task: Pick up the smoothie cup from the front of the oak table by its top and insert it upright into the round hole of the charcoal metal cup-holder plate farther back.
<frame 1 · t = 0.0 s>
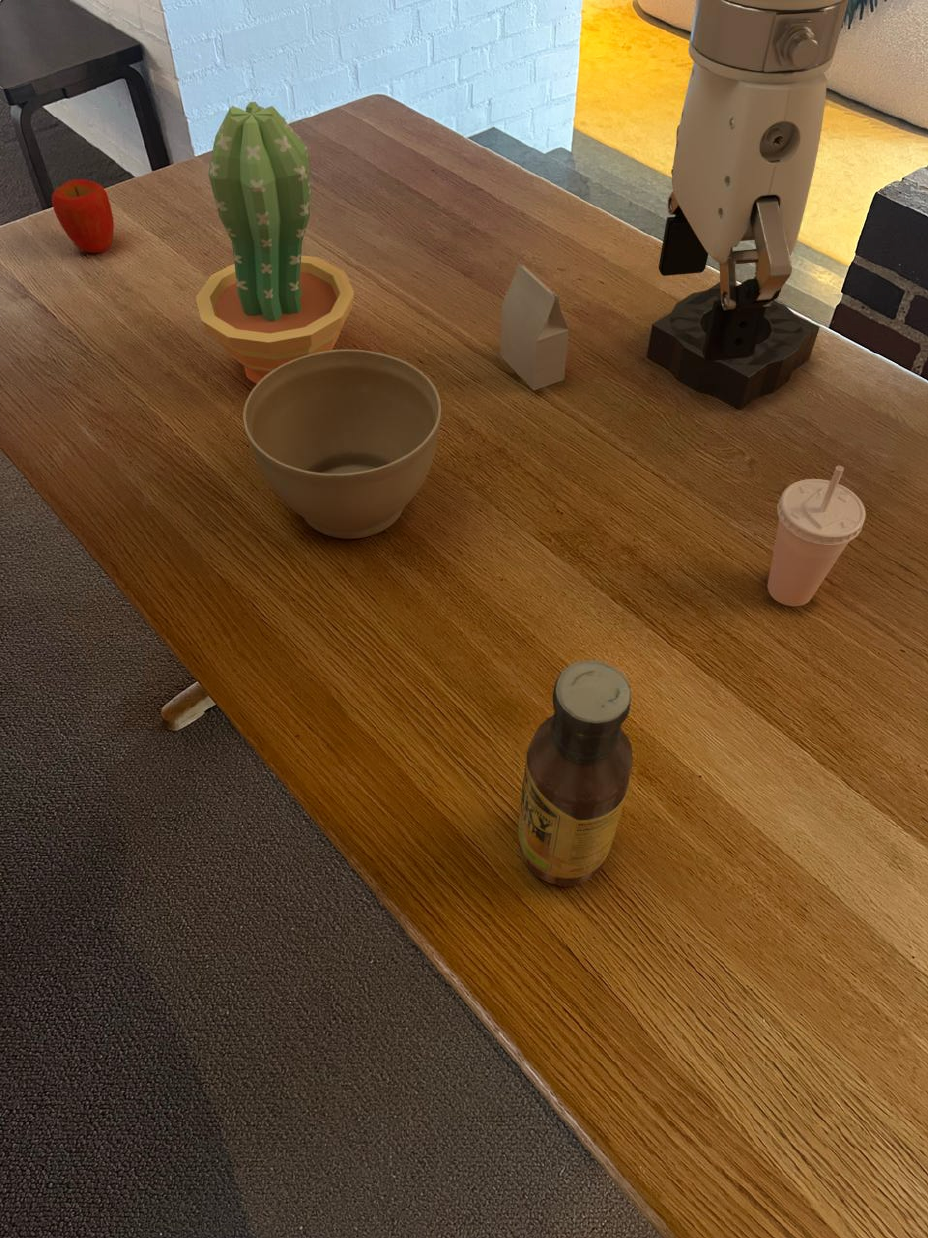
hand: (702, 312, 63), 24 cm above the table, tool pointing down, fingers open, 9 cm apart
planter bowl: (354, 504, 87), on the table
apple: (95, 248, 114), on the table
holder plate: (727, 358, 100), on the table
potted cactus: (287, 364, 100), on the table
gable top carton: (531, 368, 99), on the table
sauce bottle: (562, 851, 66), on the table
smoothie: (789, 590, 80), on the table
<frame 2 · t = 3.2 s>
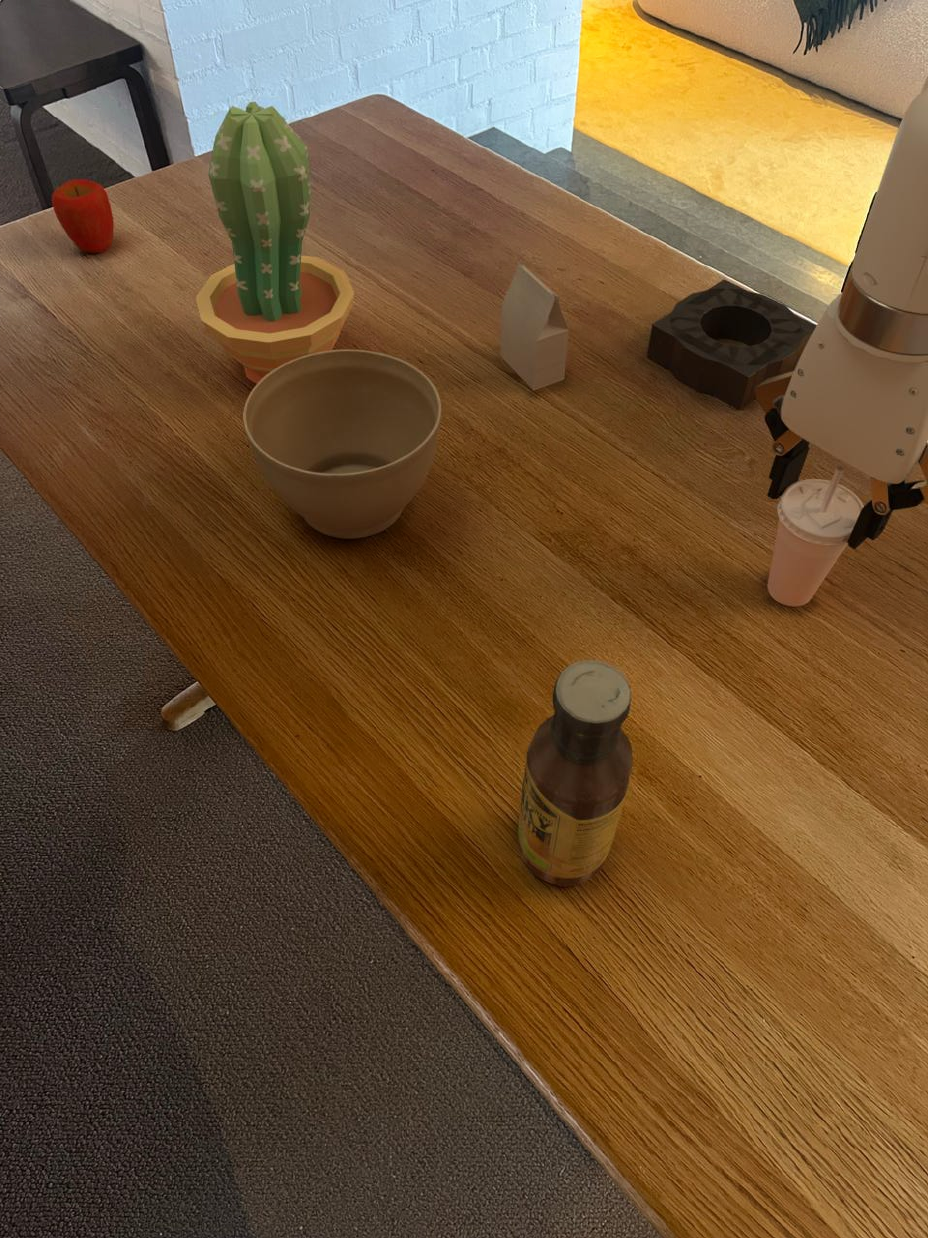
hand: (821, 512, 73), 9 cm above the table, tool pointing down, fingers closed on smoothie, 6 cm apart
smoothie: (789, 590, 80), on the table, touching gripper
everything else where it was.
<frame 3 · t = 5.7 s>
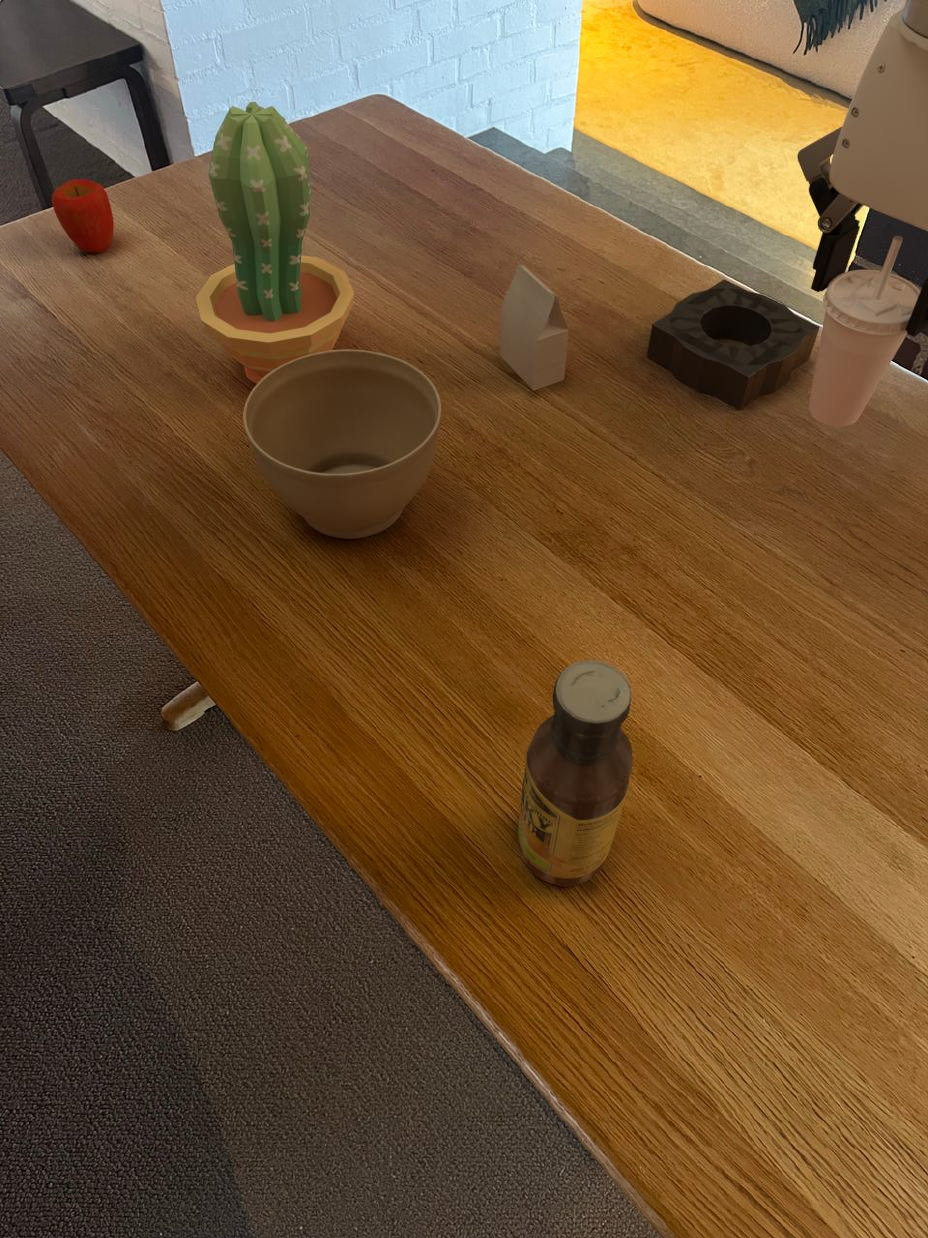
hand: (873, 302, 64), 24 cm above the table, tool pointing down, fingers closed on smoothie, 6 cm apart
smoothie: (833, 412, 71), point 15 cm above the table, touching gripper
everything else where it was.
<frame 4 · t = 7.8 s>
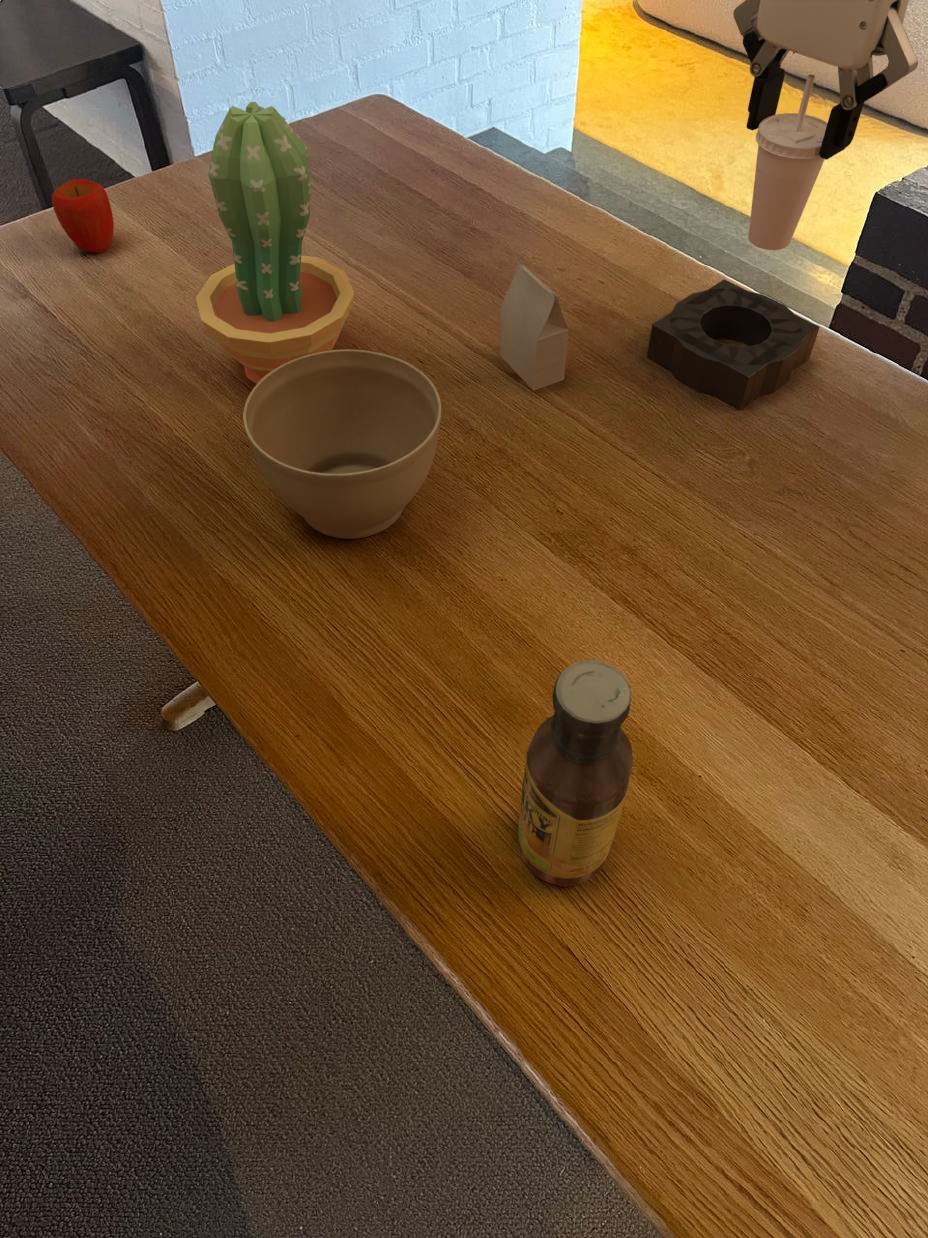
hand: (795, 136, 80), 24 cm above the table, tool pointing down, fingers closed on smoothie, 6 cm apart
smoothie: (768, 241, 87), point 15 cm above the table, touching gripper
everything else where it was.
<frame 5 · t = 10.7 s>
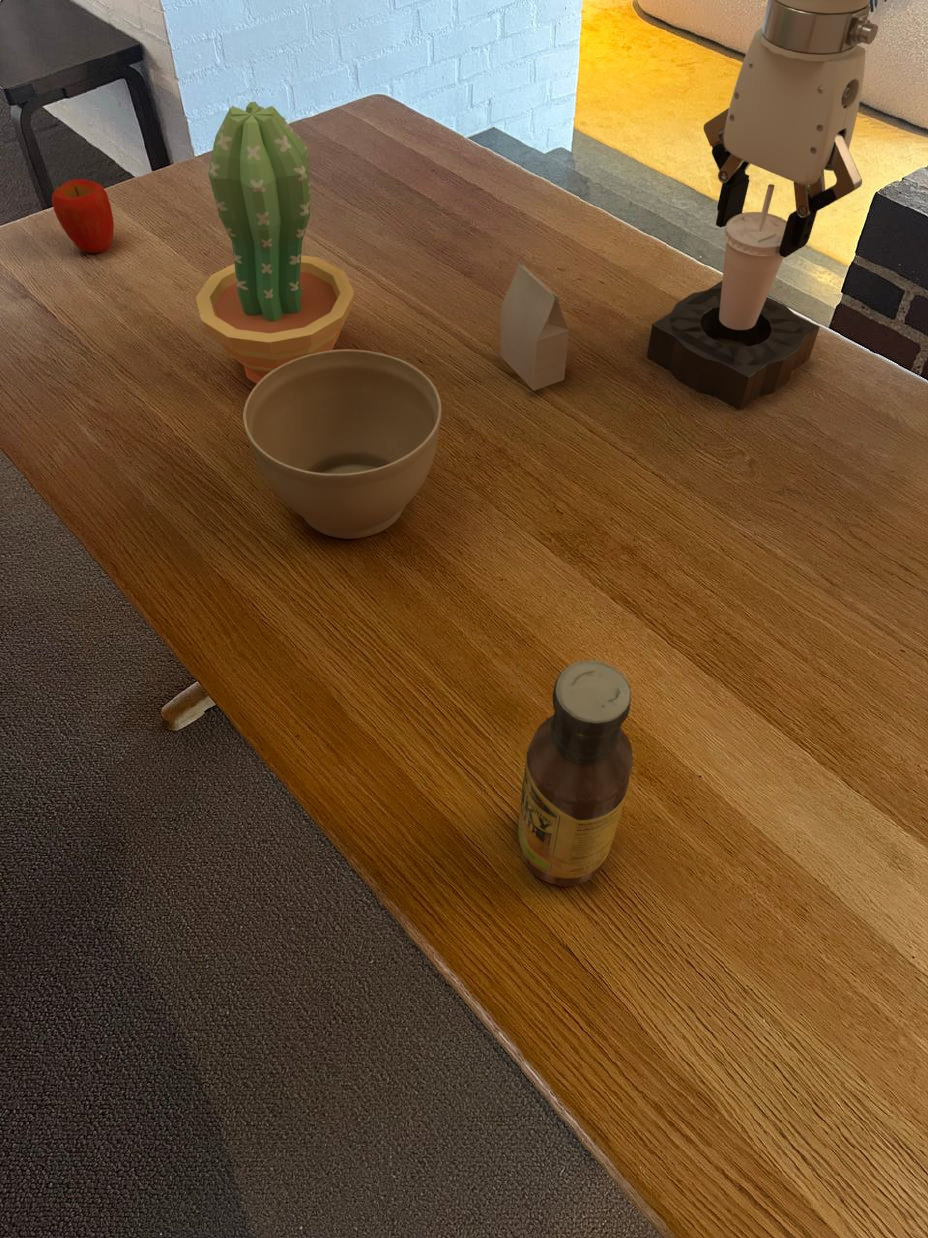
hand: (759, 234, 89), 14 cm above the table, tool pointing down, fingers closed on smoothie, 6 cm apart
smoothie: (737, 320, 97), point 5 cm above the table, touching gripper
everything else where it was.
when the fingers open (9 cm above the table, at t = 12.6 s): smoothie stays where it is, resting in holder plate.
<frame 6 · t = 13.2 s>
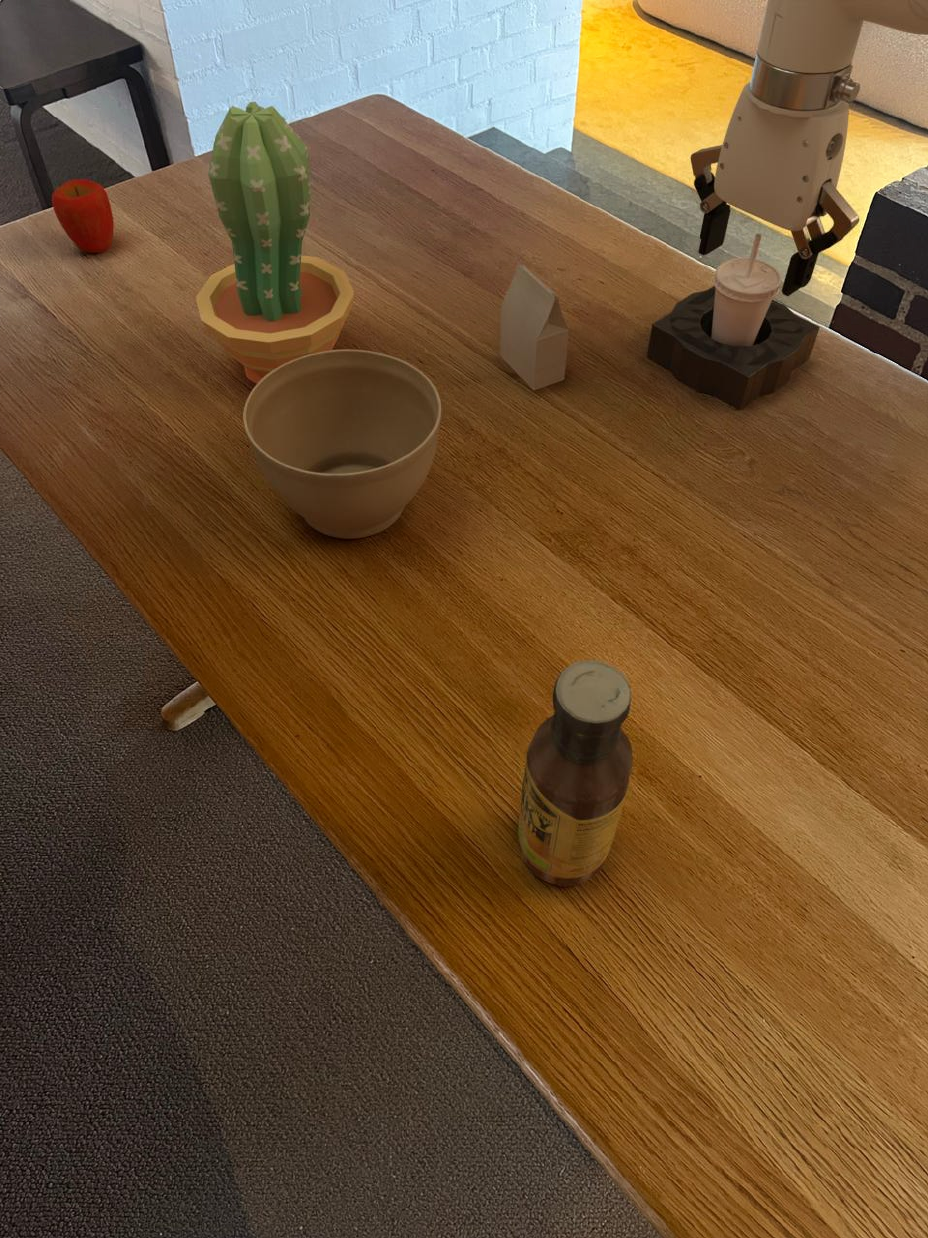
hand: (750, 268, 92), 10 cm above the table, tool pointing down, fingers open, 9 cm apart
smoothie: (727, 360, 100), resting in holder plate
everything else where it was.
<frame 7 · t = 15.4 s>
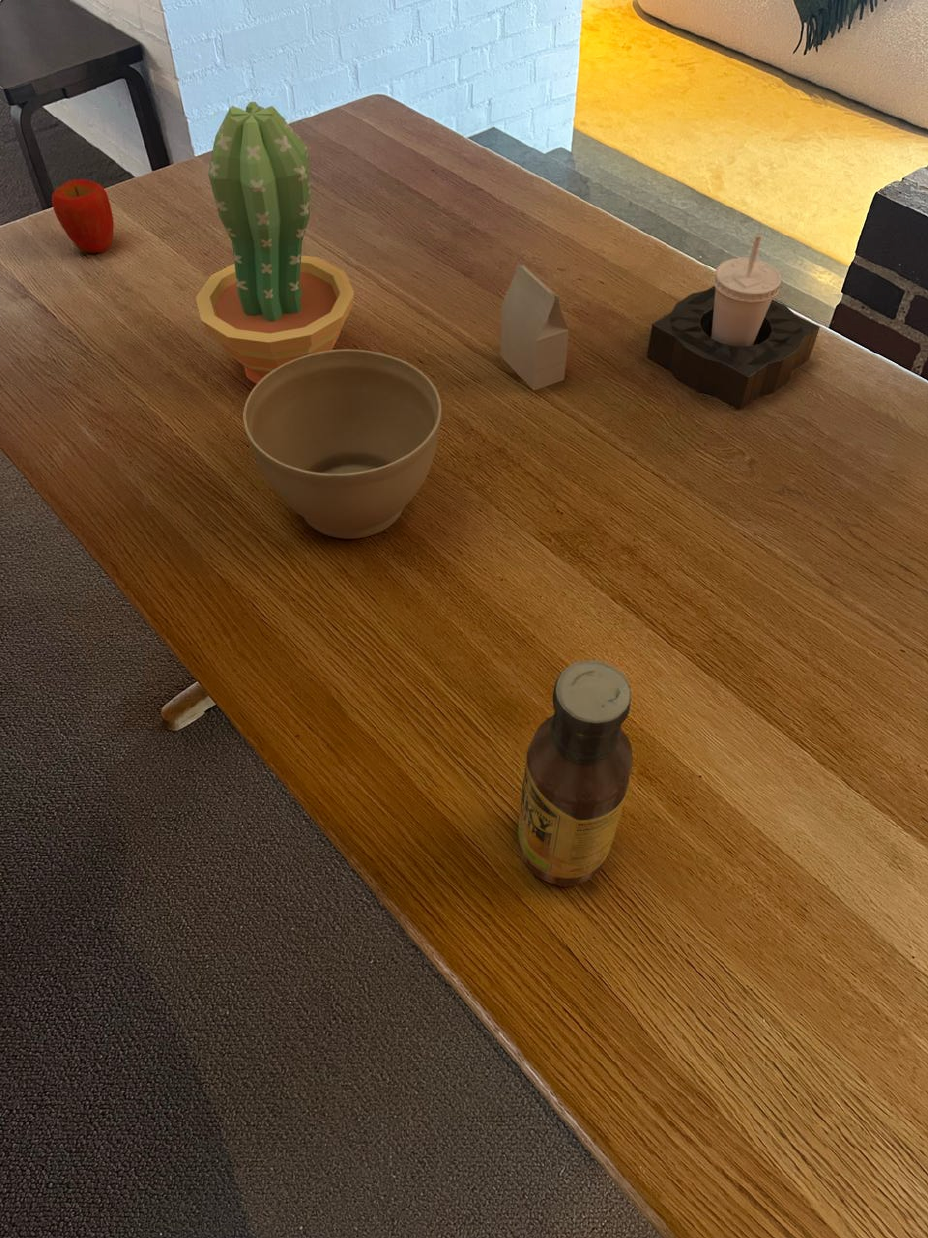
nothing on the table moved.
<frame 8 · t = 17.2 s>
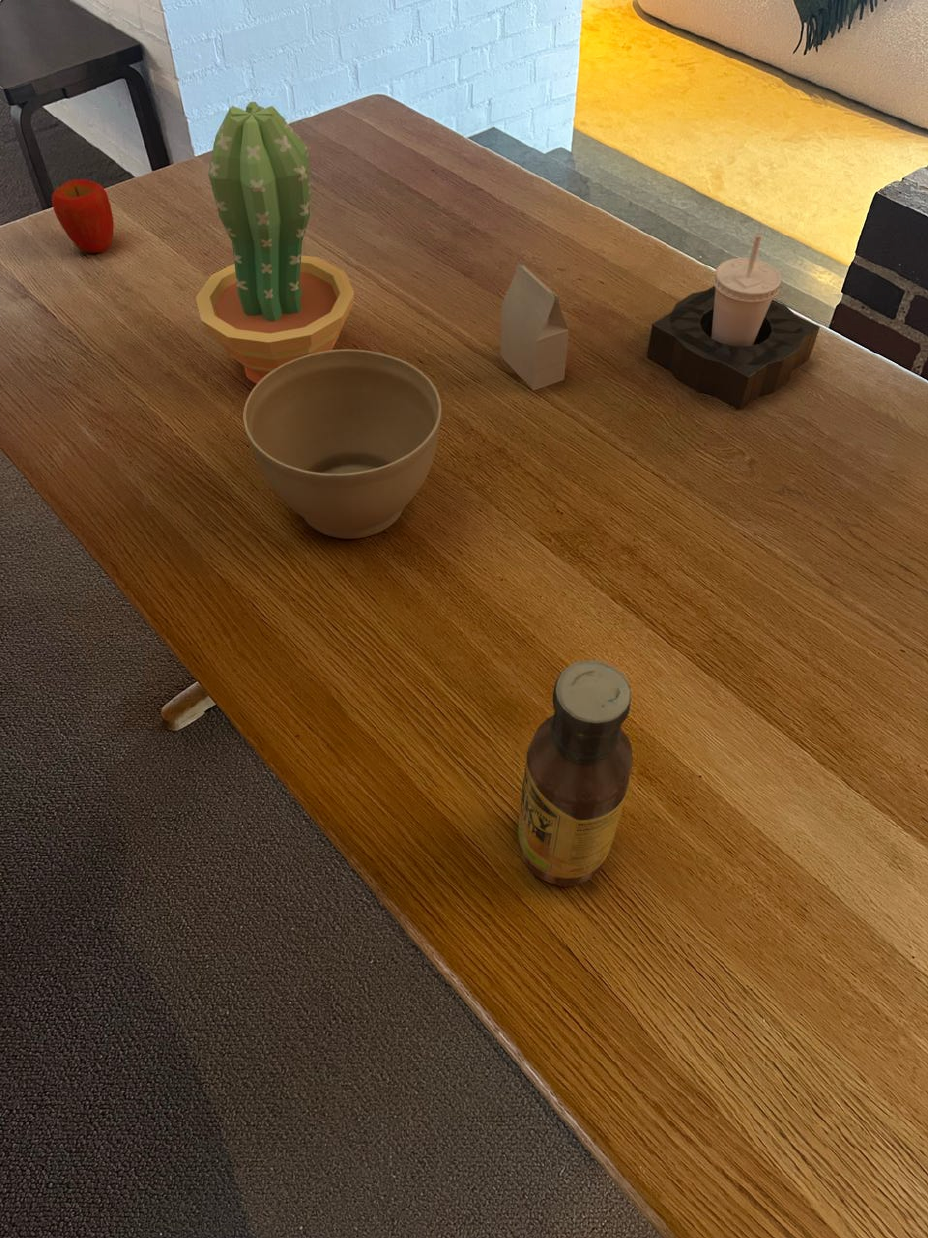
nothing on the table moved.
at the end: smoothie 0.1 cm off-centre in the holder plate, point 0.0 cm above the holder plate's base; smoothie tilted 0° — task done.
